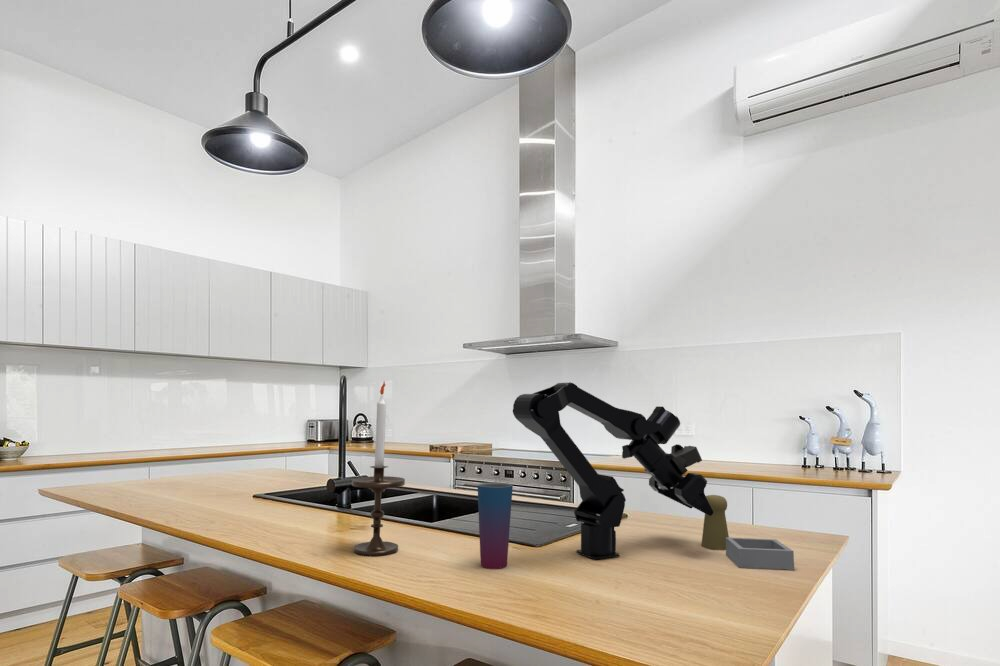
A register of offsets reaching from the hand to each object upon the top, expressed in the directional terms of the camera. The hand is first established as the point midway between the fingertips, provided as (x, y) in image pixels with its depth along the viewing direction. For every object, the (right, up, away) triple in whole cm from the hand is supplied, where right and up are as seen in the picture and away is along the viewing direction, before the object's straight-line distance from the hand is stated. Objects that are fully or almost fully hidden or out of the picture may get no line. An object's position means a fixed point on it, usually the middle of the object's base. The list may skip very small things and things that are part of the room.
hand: (701, 510), depth 131 cm
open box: (+7, -6, -13) cm, 16 cm away
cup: (-46, -5, -18) cm, 49 cm away
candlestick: (-70, -6, -9) cm, 71 cm away
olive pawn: (+3, -8, 0) cm, 9 cm away
